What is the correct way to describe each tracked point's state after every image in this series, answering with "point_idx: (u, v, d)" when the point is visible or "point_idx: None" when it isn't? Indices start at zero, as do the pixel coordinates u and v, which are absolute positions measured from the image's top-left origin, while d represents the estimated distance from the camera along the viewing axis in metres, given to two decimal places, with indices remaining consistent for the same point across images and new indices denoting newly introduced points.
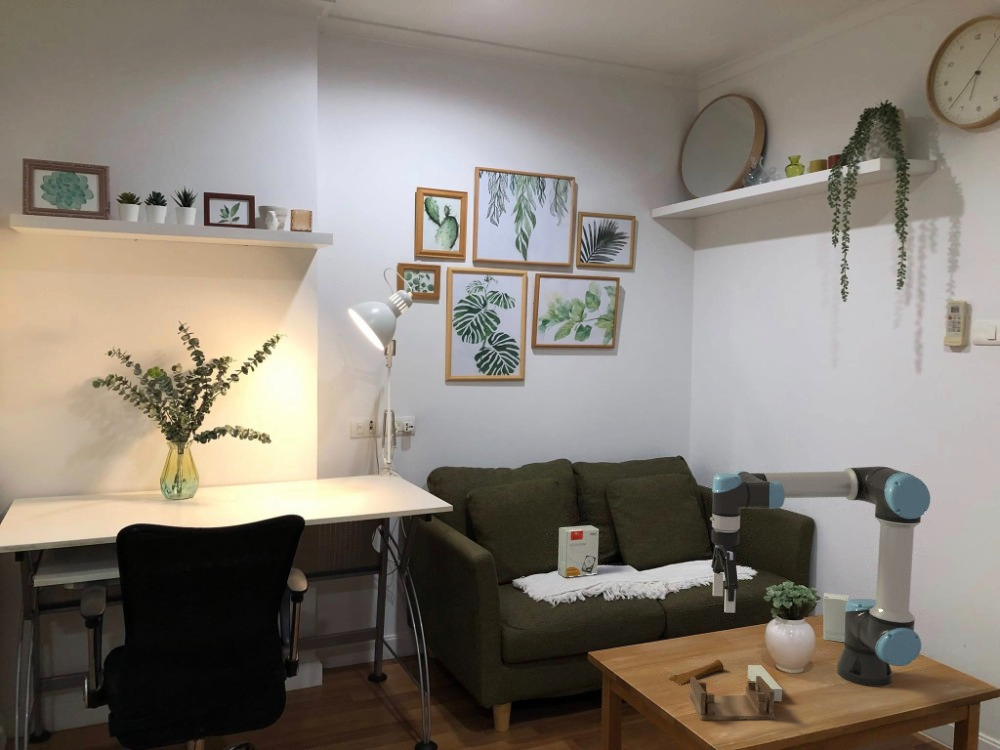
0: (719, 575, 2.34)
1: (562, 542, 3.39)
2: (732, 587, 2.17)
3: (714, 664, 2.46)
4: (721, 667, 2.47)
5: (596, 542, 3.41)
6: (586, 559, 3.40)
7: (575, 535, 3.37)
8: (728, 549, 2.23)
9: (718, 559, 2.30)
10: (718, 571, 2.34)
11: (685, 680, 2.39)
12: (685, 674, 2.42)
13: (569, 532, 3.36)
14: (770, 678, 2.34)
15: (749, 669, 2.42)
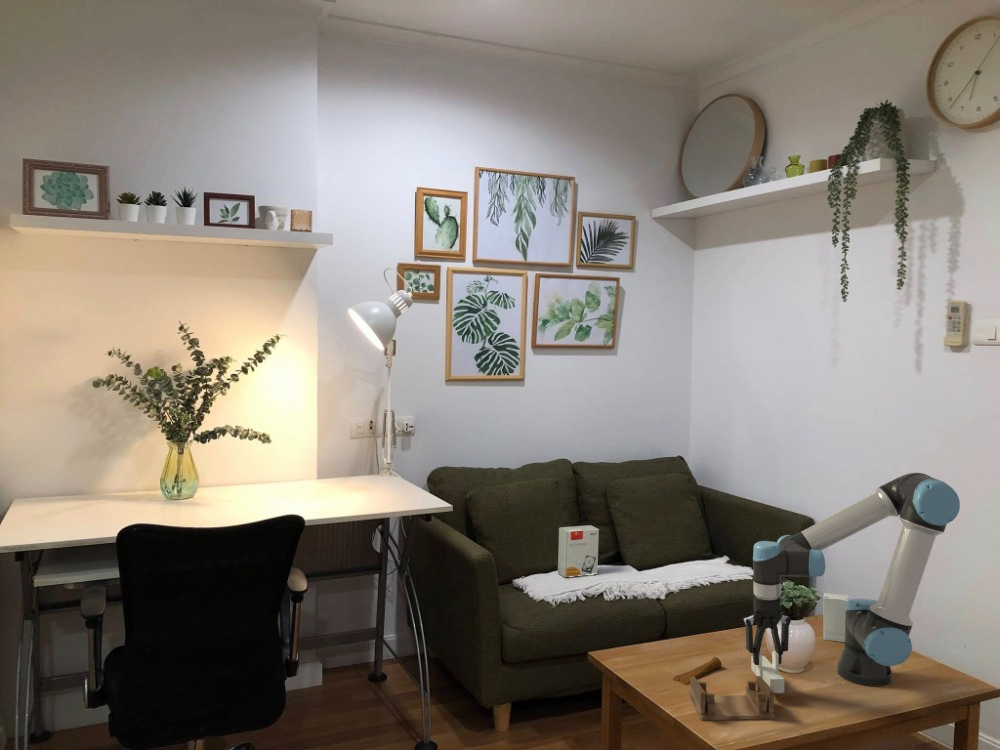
0: (774, 654, 2.34)
1: (562, 542, 3.39)
2: (747, 648, 2.34)
3: (712, 662, 2.48)
4: (719, 665, 2.49)
5: (596, 542, 3.41)
6: (586, 559, 3.40)
7: (575, 535, 3.37)
8: (754, 612, 2.34)
9: (770, 628, 2.35)
10: (776, 650, 2.34)
11: (689, 680, 2.39)
12: (687, 673, 2.43)
13: (569, 532, 3.36)
14: (773, 668, 2.34)
15: (752, 660, 2.41)
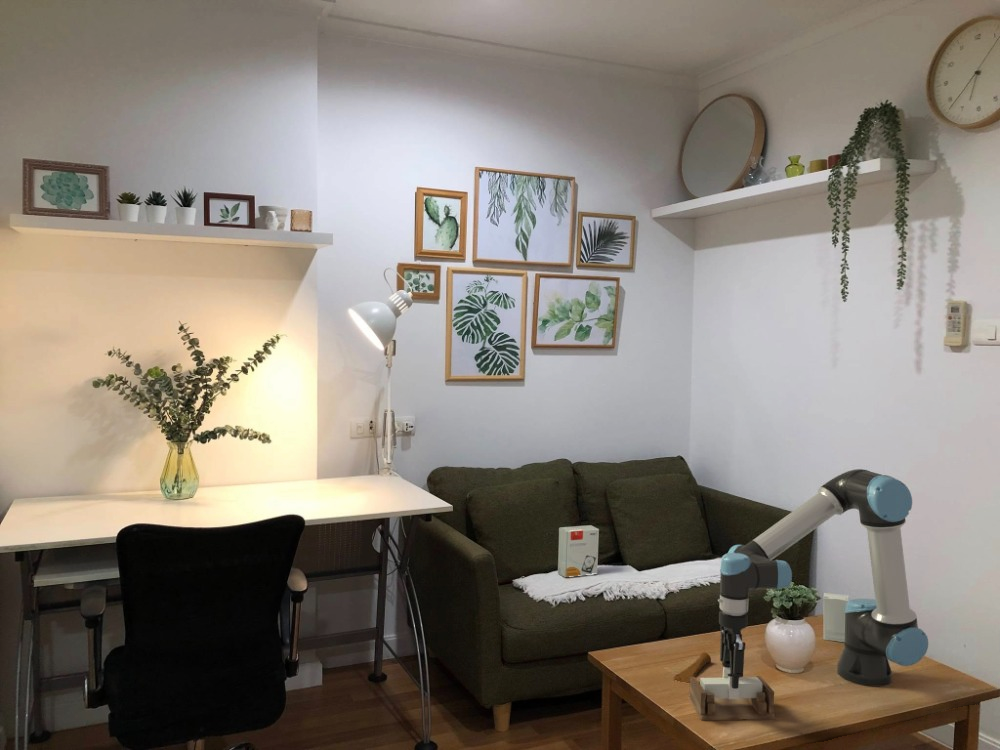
0: (729, 670, 2.24)
1: (562, 542, 3.39)
2: (737, 675, 2.16)
3: (703, 657, 2.52)
4: (709, 660, 2.52)
5: (596, 542, 3.41)
6: (586, 559, 3.40)
7: (575, 535, 3.37)
8: (737, 633, 2.17)
9: (726, 645, 2.23)
10: (728, 664, 2.24)
11: None
12: (685, 672, 2.44)
13: (569, 532, 3.36)
14: None
15: (709, 686, 2.20)
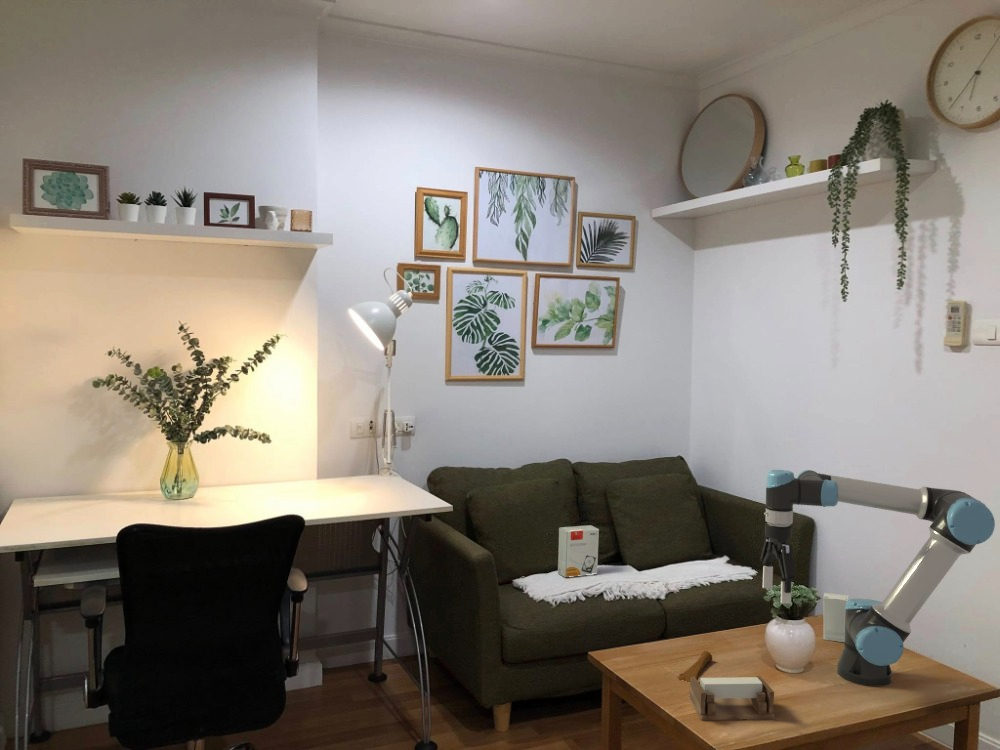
0: (769, 568, 2.43)
1: (562, 542, 3.39)
2: (790, 579, 2.26)
3: (705, 656, 2.52)
4: (710, 658, 2.53)
5: (596, 542, 3.41)
6: (586, 559, 3.40)
7: (575, 535, 3.37)
8: (783, 543, 2.32)
9: (770, 552, 2.39)
10: (768, 564, 2.43)
11: None
12: (689, 671, 2.44)
13: (569, 532, 3.36)
14: (733, 678, 2.23)
15: (709, 686, 2.20)
